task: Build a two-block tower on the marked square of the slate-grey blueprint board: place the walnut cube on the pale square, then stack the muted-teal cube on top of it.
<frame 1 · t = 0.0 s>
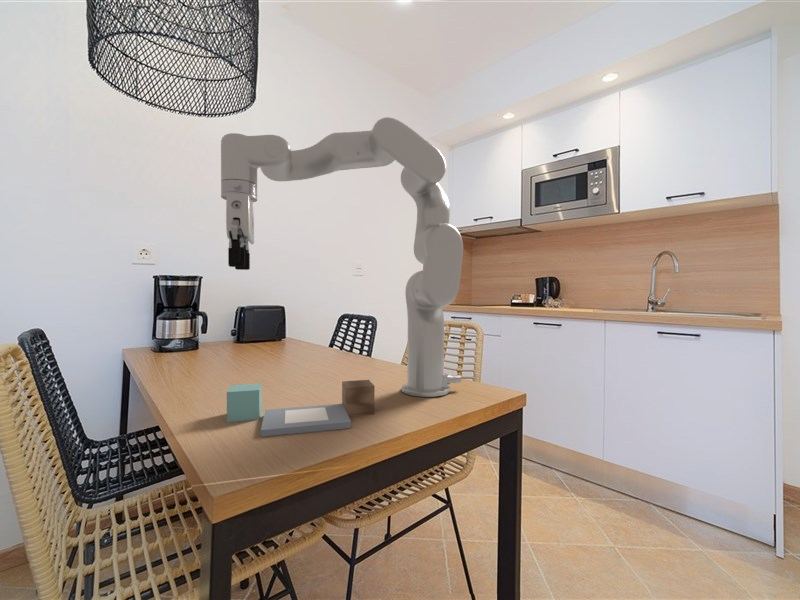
hand: (239, 268, 85), 31 cm above the table, fingers open, 9 cm apart
blueprint board: (306, 421, 74), on the table
walnut block: (357, 411, 81), on the table
teal block: (245, 416, 77), on the table
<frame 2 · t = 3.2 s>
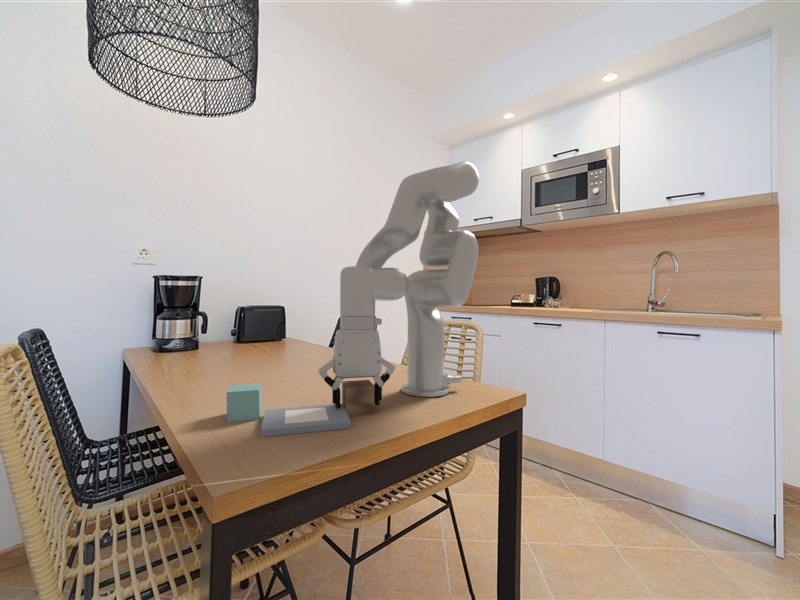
hand: (357, 404, 81), 1 cm above the table, fingers open, 7 cm apart
nothing on the table moved.
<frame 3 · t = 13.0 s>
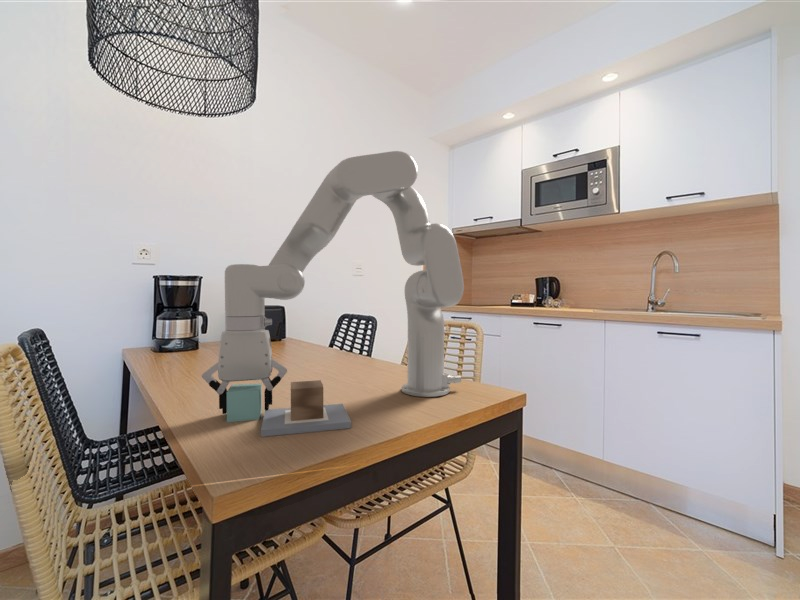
hand: (246, 409, 77), 1 cm above the table, fingers open, 7 cm apart
walnut block: (306, 414, 74), point 1 cm above the table, touching blueprint board
everything else where it was.
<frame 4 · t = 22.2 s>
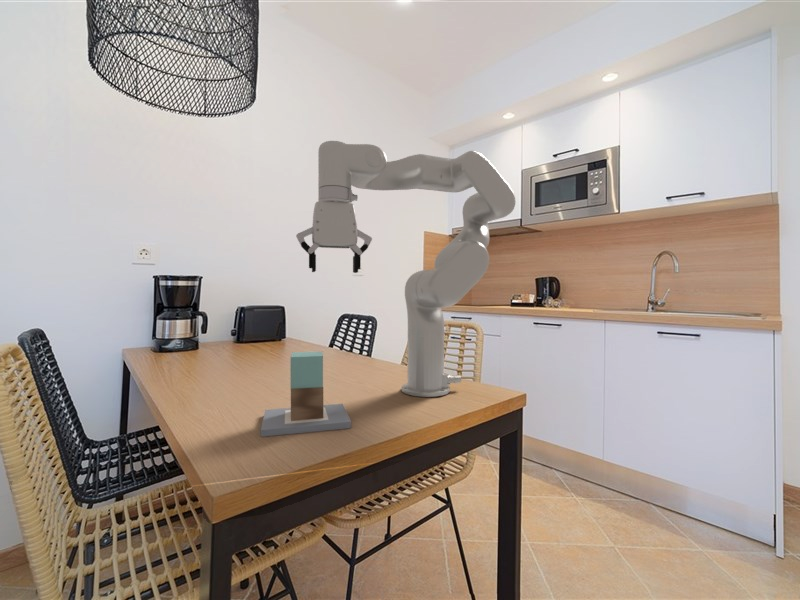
hand: (334, 272, 87), 30 cm above the table, fingers open, 9 cm apart
walnut block: (306, 414, 74), point 1 cm above the table, touching blueprint board, teal block
teal block: (307, 384, 74), point 7 cm above the table, touching walnut block
at the end: walnut block 0.1 cm off-centre on the blueprint board, point 1.3 cm above the blueprint board's base; teal block 0.2 cm off-centre on the walnut block, point 6.0 cm above the walnut block's base; teal block tilted 0° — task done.
